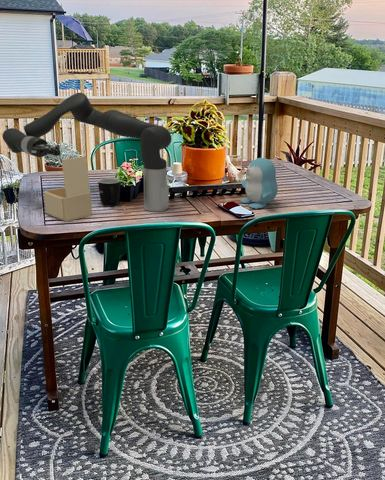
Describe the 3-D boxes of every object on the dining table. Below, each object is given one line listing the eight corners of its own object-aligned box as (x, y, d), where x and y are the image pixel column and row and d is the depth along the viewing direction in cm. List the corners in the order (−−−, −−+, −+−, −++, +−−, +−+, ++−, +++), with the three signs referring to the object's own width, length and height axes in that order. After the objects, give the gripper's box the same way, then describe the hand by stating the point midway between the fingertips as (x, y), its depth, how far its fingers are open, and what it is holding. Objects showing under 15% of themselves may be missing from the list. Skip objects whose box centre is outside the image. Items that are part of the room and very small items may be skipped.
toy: (232, 198, 220) (235, 153, 213) (260, 195, 225) (264, 152, 218) (257, 213, 200) (261, 164, 192) (288, 210, 204) (292, 162, 197)
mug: (97, 201, 210) (96, 178, 207) (118, 200, 213) (117, 177, 210) (102, 210, 200) (101, 185, 196) (124, 208, 203) (123, 184, 199)
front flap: (61, 159, 178) (62, 159, 178) (85, 156, 185) (86, 156, 185) (66, 197, 182) (66, 197, 182) (89, 192, 190) (90, 192, 189)
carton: (44, 213, 194) (42, 191, 191) (71, 206, 203) (70, 185, 200) (64, 222, 185) (63, 198, 182) (93, 214, 194) (91, 192, 191)
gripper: (18, 138, 193) (42, 145, 182) (48, 135, 202) (72, 141, 191) (20, 157, 196) (43, 165, 185) (49, 153, 205) (73, 160, 194)
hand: (58, 153), depth 188 cm, fingers closed
